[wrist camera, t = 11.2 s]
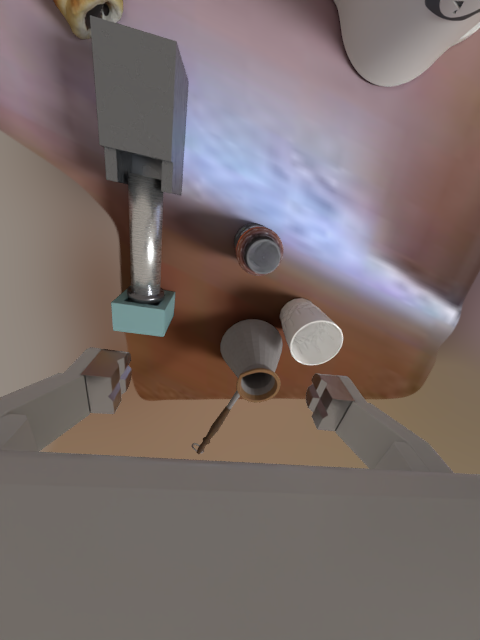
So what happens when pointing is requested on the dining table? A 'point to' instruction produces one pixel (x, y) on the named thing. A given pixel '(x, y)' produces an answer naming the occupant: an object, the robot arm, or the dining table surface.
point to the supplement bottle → (258, 249)
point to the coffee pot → (249, 365)
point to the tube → (145, 239)
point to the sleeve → (139, 103)
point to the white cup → (309, 332)
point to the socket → (143, 315)
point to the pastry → (88, 13)
